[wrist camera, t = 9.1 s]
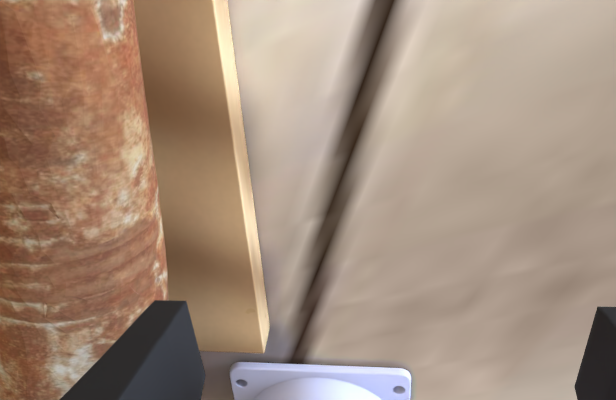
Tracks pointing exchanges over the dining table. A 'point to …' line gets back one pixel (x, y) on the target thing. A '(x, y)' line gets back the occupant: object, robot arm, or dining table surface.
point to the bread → (72, 191)
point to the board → (203, 171)
